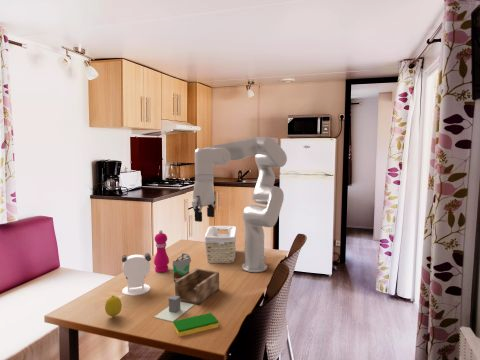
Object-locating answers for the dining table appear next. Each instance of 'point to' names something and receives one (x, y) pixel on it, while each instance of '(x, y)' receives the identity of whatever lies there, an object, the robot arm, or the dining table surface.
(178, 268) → the food container
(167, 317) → the cover plate
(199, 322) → the dish sponge
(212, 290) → the slide box
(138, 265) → the panda figurine
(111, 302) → the lemon
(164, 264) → the pepper mill
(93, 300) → the dining table surface
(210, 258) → the storage basket
